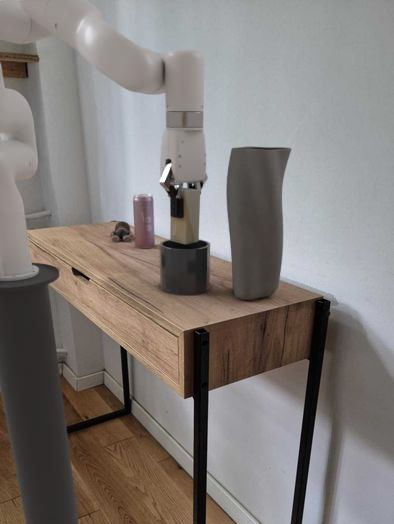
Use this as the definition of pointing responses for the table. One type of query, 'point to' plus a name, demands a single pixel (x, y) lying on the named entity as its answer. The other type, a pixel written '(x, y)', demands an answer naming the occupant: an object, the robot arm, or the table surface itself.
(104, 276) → the table surface
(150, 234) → the beverage can
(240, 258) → the vase
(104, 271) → the table surface
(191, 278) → the cup
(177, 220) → the box
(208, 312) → the table surface
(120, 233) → the figurine
